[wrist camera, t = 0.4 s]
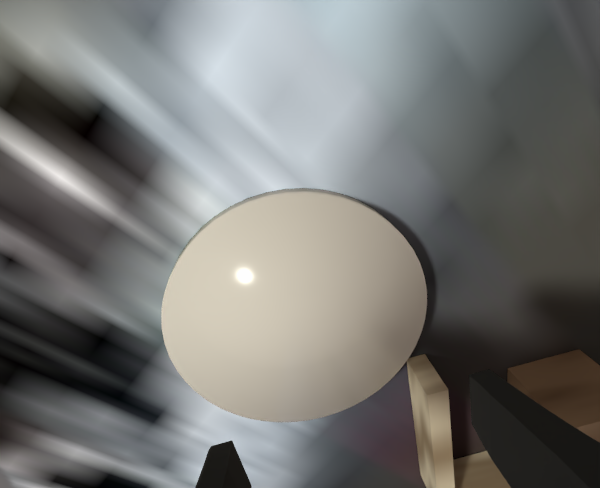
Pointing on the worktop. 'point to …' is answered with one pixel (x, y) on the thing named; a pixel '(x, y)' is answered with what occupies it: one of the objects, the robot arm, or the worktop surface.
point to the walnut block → (563, 388)
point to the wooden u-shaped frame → (443, 435)
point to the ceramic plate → (293, 305)
